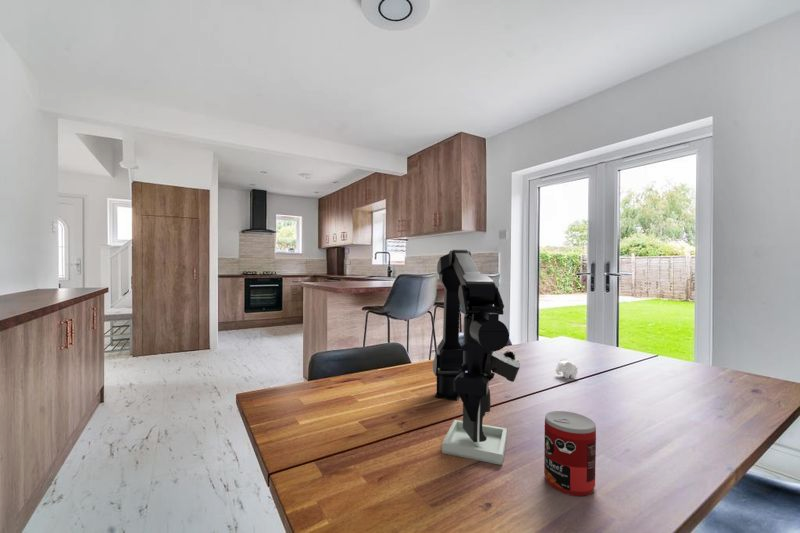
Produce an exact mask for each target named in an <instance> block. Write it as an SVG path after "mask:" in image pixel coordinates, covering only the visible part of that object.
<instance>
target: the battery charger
mask: <svg viewBox="0 0 800 533" xmlns="http://www.w3.org/2000/svg"><path fill="white" fill-rule="evenodd" d="M488 389H489V391H488V394H487V395H486V396H484V397H483V398H481V401H480V406H479V411H478V416H477V420H476V422H472V421H470V418H469V416H468V414H467V411H466V409H465V407H464V404H463V403H462V421H463V429H464V430H465V432H466V433H467V434H468V436H469V437H470V438H471V439H472V440H473V441H474V442H477V443H479V442H483V441H486V439H487V437H486V435H485V434H484V433H483V430H482V424H483V420H484V417H485V415H486V413H489V412H491V407H492V405H491V403H492V402H491V390H490V388H488Z"/></svg>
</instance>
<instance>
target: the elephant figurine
mask: <svg viewBox="0 0 800 533" xmlns="http://www.w3.org/2000/svg"><path fill="white" fill-rule="evenodd" d="M578 369H580V366H579V367H577V366H576V365H575V364H574V363H573V362H571V361H568V359H567V358H564V357H562V358H561V359H560V360H559V362H558V363H557V366H556V367H555V372H556V374H557V375H561V374H562V376H563V377H564V378H565V379H570V378H571V379H573V380H575V378H577V375H578ZM561 372H562V373H561Z"/></svg>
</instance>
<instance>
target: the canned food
mask: <svg viewBox="0 0 800 533" xmlns="http://www.w3.org/2000/svg"><path fill="white" fill-rule="evenodd" d="M543 446H544V447H543V448H544V451H543V452H544V457H543V458H544V459H543V460H544V464H543V465H544V468H543V469H544V472H543V473H544V477H545V480H546V482H547V484H548V485H550V486H551V487H552V488H553V489H555V490H556V491H557V492H558V491H559V492H561V493H563V494H565V495H569V496H573V497H574V496H575V497H584V496H588V495H590V494H592V493H593V492H594V489H595V487H596V462H597V460H596V458H597V457H596V455H597V454H596V452H597V450H596V448H597V447H596V446H597V426H596V422H595V421H594V420H593V419H592V418H590V417H588V416H585V415H582V414H580V413H575V412H572V411H564V410H555V411H550V412H547V413H546V414H545V417H544V444H543Z"/></svg>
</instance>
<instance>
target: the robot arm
mask: <svg viewBox="0 0 800 533" xmlns="http://www.w3.org/2000/svg"><path fill="white" fill-rule="evenodd" d="M436 272H437V275H438V280H439V282H440V283H441V285H442V287H443V291H444V292H443V294H444V295H443V320H442V321H443V324H442V325H443V326H442V328H443V329H442V330H443V331H442V339H441V341H439V344H438V345H437V347H436V353H435V355H434V359H433V363H432V372H433V374H434V376H435V377H436V393H435V394H434V397H435V398H441V399H445V400H447V399H449V400H454V401H457V400H458V399H459V398H460V400H461V402H462V405H463V404H464V407H465V409H466V411H467V414H468V416H469V418H470V421H472V422H476V420H477V416H478V411H479V406H480V401H481V398H483V397H484V396H486V395H487V394H488V391H489V390H490V388H489V387H490V383H489V382H491V381H492V380H493V379H494V377H495V375H496V374H497V375H498V376H501V377H503V378H505V379H506V380H507V381H509V382H511V383H512V382H515V380H516V377H517V375H518V373H519V371H520V367H521V362H520V361H519V360H516V352H514V351H512V350H509V349H507V351H505V352H504V353H502V352H498V351H501V350H503V349H504V348H505V347H506V346H507V345H508V342H509V339H510V332H509V329H508V328H507V327H508V326H506V324H504V322H502V321H501V320H499V319H500V316H499V315H504V308H505V305H504V301H503V299H502V296H501V293H500V290H499V287H498V286H497V285H496V283H495V281H494V280H493V279H492V278H491V277H490V276H487V275H485V274H482V273H481V272H480V271H479V269H478V266H477V265H476V263H475V262H474V260H473V259H472V254H471V250H467V249H452V250H450V251H449V252H448V253H447V254H445V255H442V256H441V257H439V259H438V261H437V264H436ZM460 307H461V308H460ZM460 309H461V310H462V314H464V316H463V344H462V345H461V343H460V341H459V340H460V316H461V315H460ZM465 371H467V373H466V372H465ZM488 388H489V389H488Z"/></svg>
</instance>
